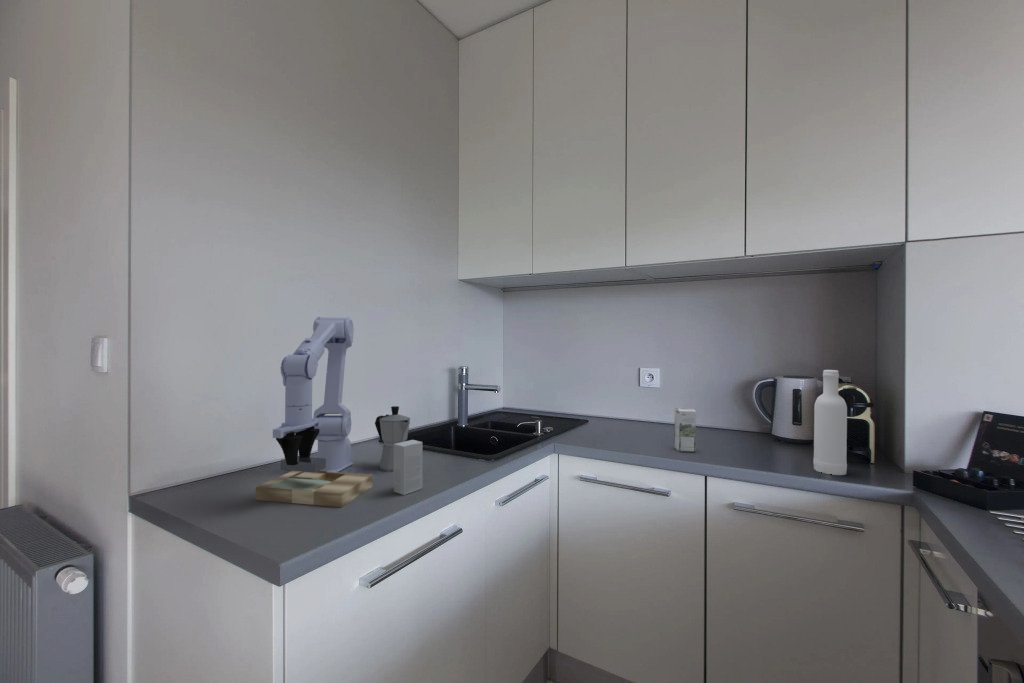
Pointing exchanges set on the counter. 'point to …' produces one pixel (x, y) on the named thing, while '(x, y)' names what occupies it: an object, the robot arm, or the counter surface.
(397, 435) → the coffee maker
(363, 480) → the bamboo board
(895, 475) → the counter surface
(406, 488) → the skincare box
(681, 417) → the syrup box
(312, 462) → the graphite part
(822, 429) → the bottle
